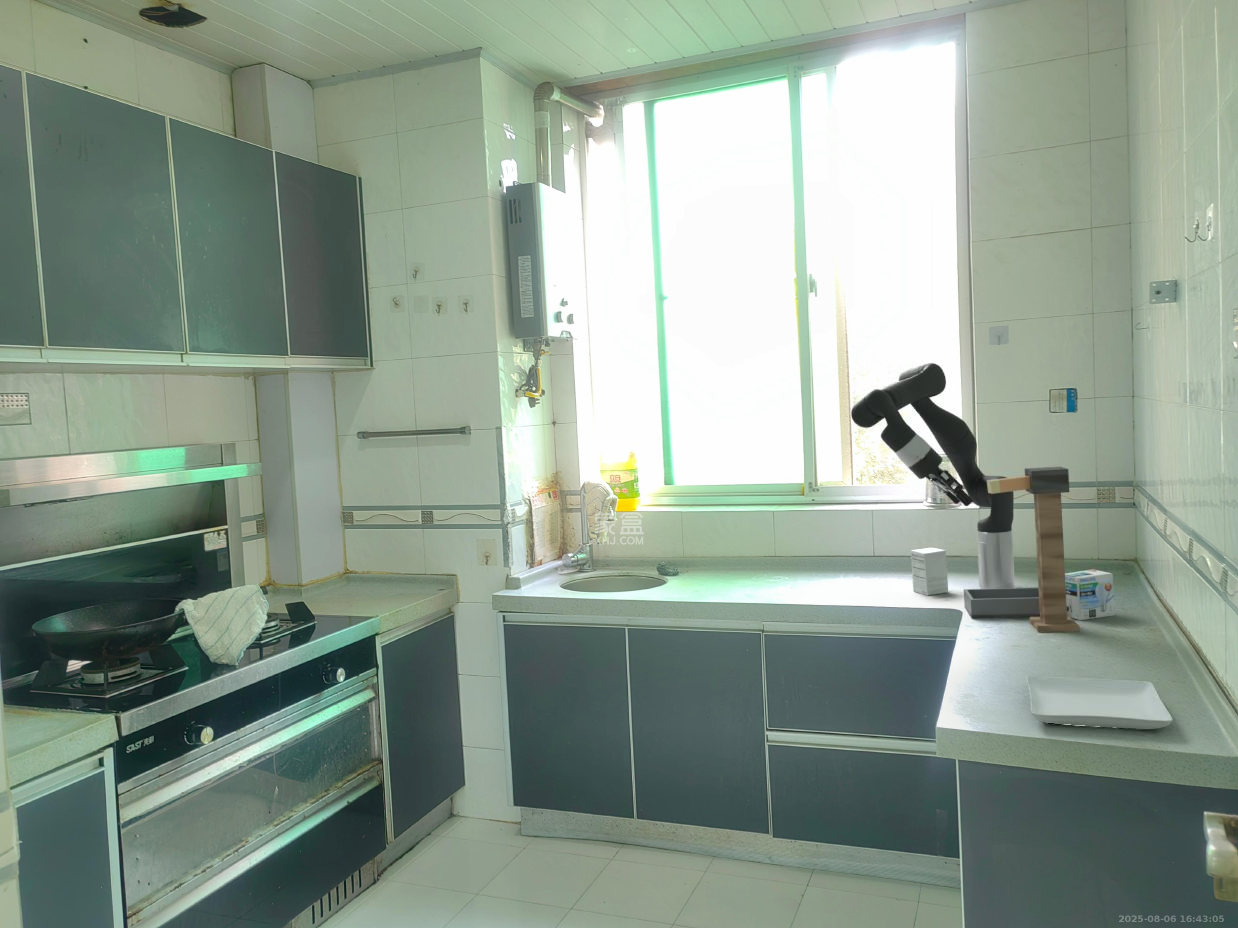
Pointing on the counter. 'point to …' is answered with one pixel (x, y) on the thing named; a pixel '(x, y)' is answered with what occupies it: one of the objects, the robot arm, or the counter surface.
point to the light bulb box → (1089, 594)
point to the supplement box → (929, 571)
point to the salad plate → (1097, 702)
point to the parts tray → (1002, 603)
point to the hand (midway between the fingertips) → (964, 502)
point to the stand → (1050, 548)
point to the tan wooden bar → (1008, 484)
